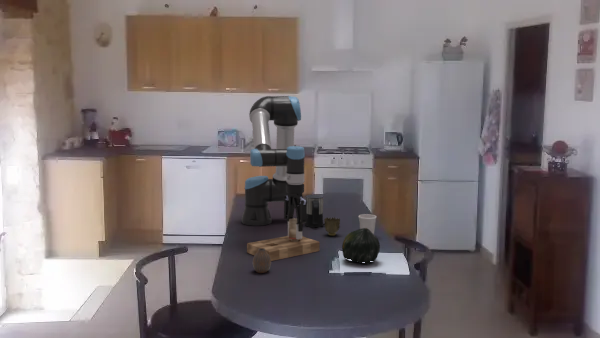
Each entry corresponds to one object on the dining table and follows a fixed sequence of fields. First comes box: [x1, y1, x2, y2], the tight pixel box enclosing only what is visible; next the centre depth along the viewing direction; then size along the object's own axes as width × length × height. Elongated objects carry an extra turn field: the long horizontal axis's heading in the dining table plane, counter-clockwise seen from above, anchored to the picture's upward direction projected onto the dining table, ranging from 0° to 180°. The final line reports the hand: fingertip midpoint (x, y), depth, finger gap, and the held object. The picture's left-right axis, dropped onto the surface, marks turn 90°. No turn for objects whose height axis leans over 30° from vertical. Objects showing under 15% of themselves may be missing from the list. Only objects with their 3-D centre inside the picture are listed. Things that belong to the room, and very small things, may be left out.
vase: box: [252, 248, 272, 274], centre depth 236 cm, size 7×7×9 cm
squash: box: [341, 228, 381, 265], centre depth 249 cm, size 14×15×15 cm
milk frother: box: [304, 194, 325, 228], centre depth 311 cm, size 14×16×15 cm
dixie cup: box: [357, 213, 377, 235], centre depth 289 cm, size 8×8×10 cm
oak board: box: [246, 235, 321, 262], centre depth 263 cm, size 16×26×4 cm, turn 128°
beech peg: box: [289, 217, 299, 242], centre depth 266 cm, size 5×5×12 cm
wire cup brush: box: [323, 216, 341, 237], centre depth 292 cm, size 8×7×8 cm
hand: (294, 237), depth 267 cm, fingers closed on beech peg, 5 cm apart
